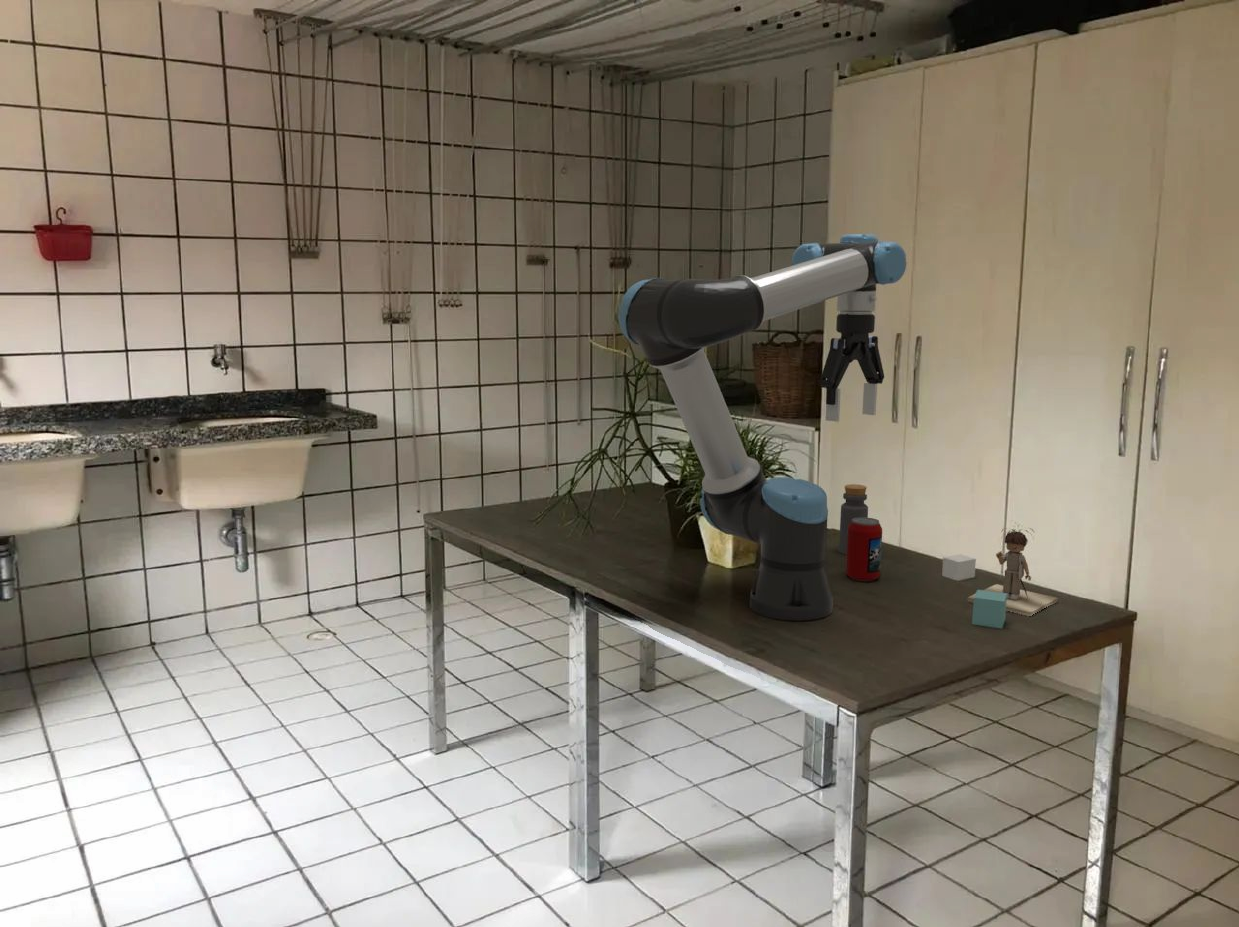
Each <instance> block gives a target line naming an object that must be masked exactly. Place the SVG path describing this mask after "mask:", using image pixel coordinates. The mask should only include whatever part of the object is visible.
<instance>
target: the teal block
mask: <svg viewBox="0 0 1239 927" xmlns="http://www.w3.org/2000/svg"><path fill="white" fill-rule="evenodd" d="M984 590H985V589H977V590H976V592H975V593H974V594H975V596H974V603H973V604H972V606H973V607H972V619H971V621H972V622H971V625H975V626H981V627H988V628H994V629H1001V630H1002V629H1003V627H1004V624H1005V621H1006V612H1007V611H1006V601H1007V594H1006V593H999V592H991V591H984Z"/></svg>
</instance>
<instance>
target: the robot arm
mask: <svg viewBox="0 0 1239 927" xmlns="http://www.w3.org/2000/svg"><path fill="white" fill-rule="evenodd" d="M907 263H908V262H907V254H906V251H905V249H904V248H903V247H902V246H901V245H900V244H899V243H897V242H895V241H884V240H880V241H879V238H878V237H877V235H874V234H869V233H868V234H866V233H865V234H862V233H861V234H860V233H859V234H857V233H856V234H852V233H851V234H843V235H842V236H841V237H840V239H839V242H838V243H834V242H833V243H830V242H829V243H818V242H811V243H803V244H801V245H799V246H798V247H797V248H796V249H795V251H794V252H793V254H792V259H791V265H790V266H787V267H783V268H779V269H777V270H774V271H771V272H768V273H763V274H760V275H757V276H753V277H749V276H748V275H747V276H746V275H742V274H741V275H736V276H733V277H728V278H722V279H700V278H697V279H696V278H687V279H684V278H683V279H682V278H681V279H678V278H677V279H676V278H675V279H671V278H670V279H669V278H668V279H667V278H666V279H665V278H662V277H655V278H650V279H643V280H639V281H638V282H636V283H634V284H633V285H632V286H630V287H629V288H628V290H627V291H626V292H625V293H624V295H623V297H622V299H621V302H620V306H619V309H618V323H619V328H620V331H621V333H622V334H623V336H624V337H625V338H626V340H628V341H630V342H631V343H632V344H634V345H636V346H637V345H638V346H640V348H641V350H642V353H643V355H644V357H645V359H646V361H647V364H648V365H649V366H650V367H652V368H655V369H658V370H660V372H661V375H662V377H663V380H664V381H665V384H666V386H667V389H668V391H669V394H670V395H671V398H672V399H673V402H674V405H675V407H676V409H677V411H678V414H679V416H680V418H681V421H682V423H683V425H684V428H685V430H686V432H687V434H688V437H689V439H690V441H691V444H692V446H693V449H694V451H695V453H696V456H697V458H698V460H699V462H700V464H701V467H702V470H703V471H704V472H703V473H704V474H705V475H704V477H703V478H702V481H701V485H702V489H701V491H700V492H701V495H702V496H701V498H699V500H700V501H699V504H700V510H701V512H702V515H703V517H704V519H705V520H706V522H707V523H708V524H709V525H710V526H712V527H713V528H714V529H715V530H718V531H720V532H722V533H723V534H726V535H728V536H729V535H730V536H733V537H737V538H740V539H744V540H747V541H750V542H754V543H756V544H759V545H760V563H759V567H758V568H759V569H758V571H757V574H756V577H755V579H754V582H753V584H752V588H751V589H750V593H749V607H750V609H751V610H752V611H753V612H755V613H757V614H759V615H762V616H765V617H767V618H772V619H776V620H784V621H811V620H817V619H822V618H825V617H828V616H829V615H831V614H832V613H833V610H834V609H833V608H834V606H833V605H834V598H833V594H832V592H831V586H830V584H829V580H828V576H827V572H826V567H825V566H826V547H827V545H826V544H827V532H828V530H827V529H828V516H829V508H828V497H827V493H826V491H825V490H824V489H823V487H821V486H820V485H818V484H816V483H813V482H811V481H810V480H809V481H808V480H805V479H802V478H793V477H790V476H789V477H786V476H781V477H772V478H769V479H766V477H765V475H764V473H763V470H762V468H761V464H760V463H759V462H758V460H757V459H755V458H753V457H749V456H748V454H747V452H746V449H745V447H744V445H743V442H742V440H741V437H740V435H739V432H738V430H737V428H736V425H735V423H734V420H733V418H732V415H731V413H730V411H729V408H728V406H727V404H726V401H725V398H724V396H723V392H721V388H720V386H719V383H718V381H717V379H716V376H715V373H714V371H713V369H712V367H711V365H710V364H711V363H710V362H709V359H708V357H707V355H706V352H705V349H706V348H709V347H711V346H714V345H717V344H720V343H724V342H725V341H726V342H727V341H729V340H731V339H734V338H737V337H740V336H743V335H745V334H750V333H752V332H754V331H757V330H759V328H761V326H762V324H763V323H764V322H766V321H768V320H771V319H774V318H777V317H780V316H783V315H786V314H790V313H792V312H795V311H798V310H800V309H804V308H806V307H810V306H812V305H815V304H818V303H820V302H824V301H828V300H830V299H833V298H836V297H837V299H836V301H837V302H836V311H838V312H839V313H838V314H837V315H836V324H835V325H836V327H835V328H836V330H835V331H836V332H837V333H839V334H840V338H837V337H832V338H831V339H830V344H829V351H828V354H827V357H826V360H825V363H824V367H823V370H822V373H821V377H820V379H819V385H820V386H821V388H823V389H826V390H825V392H826V394H825V421H829V422H836V423H837V422H840V411H841V410H840V409H841V392H842V390H841V389H842V388H839V386H840V384H841V382H842V380H843V377H844V375H845V373H846V372H847V371H848V370H847V369H848V367H849V366H850V363H853V362H854V361H857V362H858V364H859V367H860V369H861V372H862V375H863V376H864V378H865V380H866V382H864V383H863V393H862V394H863V398H862V415H868V416H876V415H877V414H876V413H877V396H878V384H879V385H880V384H881V385H882V383H883V382H884V379H885V374H884V369H883V363H882V358H881V354H880V350H879V338H878V336H876V335H869V334H873V333H874V332H875V322H876V321H875V320H876V315H875V314H873V312H875V311H876V301H877V297H876V293H877V285H883V286H885V285H890V284H895V283H898V282H899V281H901V279H902V278H903V277H904V274H905V271H906V269H907Z"/></svg>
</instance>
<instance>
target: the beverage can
mask: <svg viewBox="0 0 1239 927" xmlns="http://www.w3.org/2000/svg"><path fill="white" fill-rule="evenodd" d="M882 543H883V528H882V526H881V524H880V520H878V519H876V518H873V517H868V518H866V517H858V518H853V519H852V522H851V523H850V525H849V527H848V539H847V555H846V562H845V563H846V566H845V568H846V569H845V573H846V575H847V576H848V577H850V579H852V580H855V581H857V582H872V581H875V580H876V579H878V578H879V577H880V576H881V563H882V562H881V561H882V545H883V544H882Z"/></svg>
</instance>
